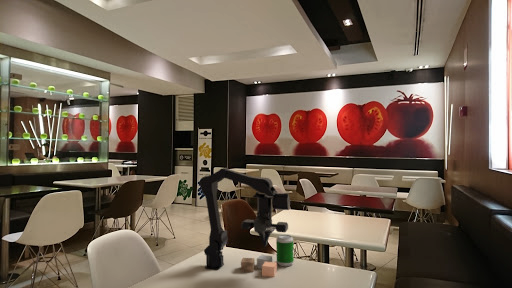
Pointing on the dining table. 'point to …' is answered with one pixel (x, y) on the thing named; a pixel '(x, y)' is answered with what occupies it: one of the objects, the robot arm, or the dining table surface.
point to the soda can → (285, 250)
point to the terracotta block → (269, 269)
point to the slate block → (263, 260)
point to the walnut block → (247, 265)
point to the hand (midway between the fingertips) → (264, 246)
